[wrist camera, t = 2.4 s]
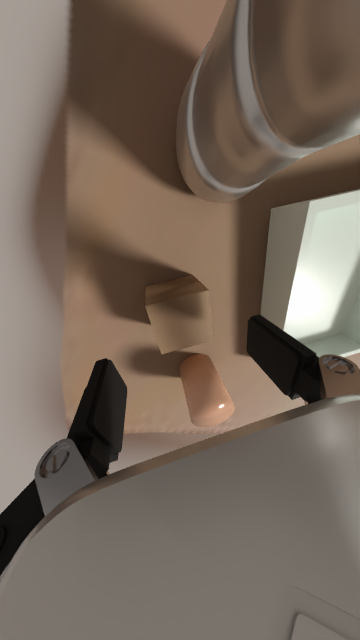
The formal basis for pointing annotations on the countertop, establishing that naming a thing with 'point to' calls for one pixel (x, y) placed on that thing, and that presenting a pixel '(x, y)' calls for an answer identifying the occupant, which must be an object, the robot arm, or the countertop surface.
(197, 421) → the tan rounded-top part
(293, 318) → the box
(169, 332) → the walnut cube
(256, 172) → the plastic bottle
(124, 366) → the countertop surface
